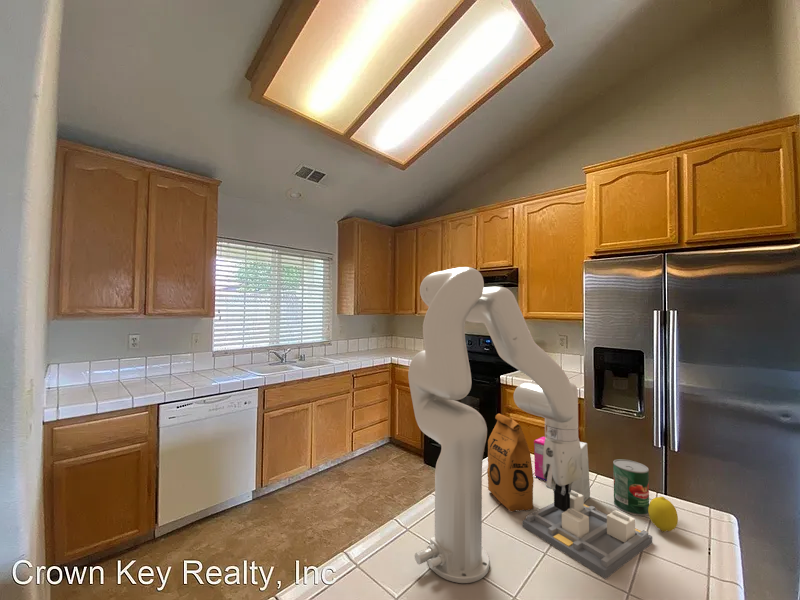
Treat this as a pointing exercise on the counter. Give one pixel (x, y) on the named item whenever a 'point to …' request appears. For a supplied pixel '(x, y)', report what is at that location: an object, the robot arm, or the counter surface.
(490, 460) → the coffee package
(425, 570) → the counter surface
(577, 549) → the switch board
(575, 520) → the tab middle
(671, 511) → the lemon
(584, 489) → the skincare box
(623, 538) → the tab near
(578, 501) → the tab far
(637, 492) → the canned tomato
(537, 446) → the supplement box
